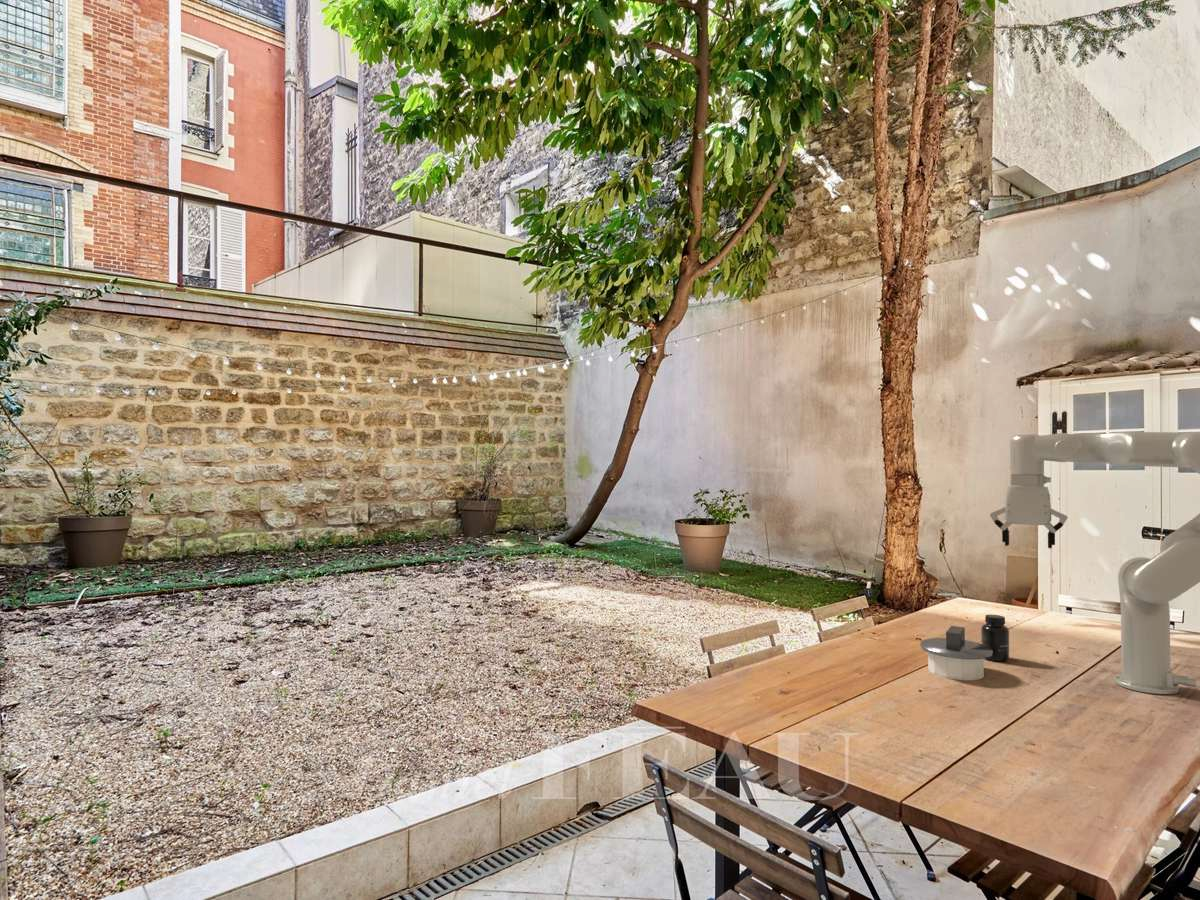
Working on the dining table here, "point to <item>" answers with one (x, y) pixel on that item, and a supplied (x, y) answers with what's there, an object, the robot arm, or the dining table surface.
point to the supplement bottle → (996, 637)
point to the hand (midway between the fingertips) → (1028, 546)
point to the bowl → (956, 667)
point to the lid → (956, 646)
